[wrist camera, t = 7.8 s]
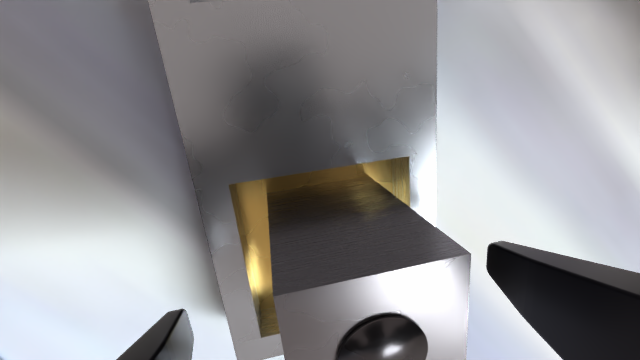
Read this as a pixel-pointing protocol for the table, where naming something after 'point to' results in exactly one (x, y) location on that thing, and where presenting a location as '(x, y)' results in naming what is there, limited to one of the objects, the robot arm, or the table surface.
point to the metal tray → (295, 120)
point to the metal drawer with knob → (364, 276)
